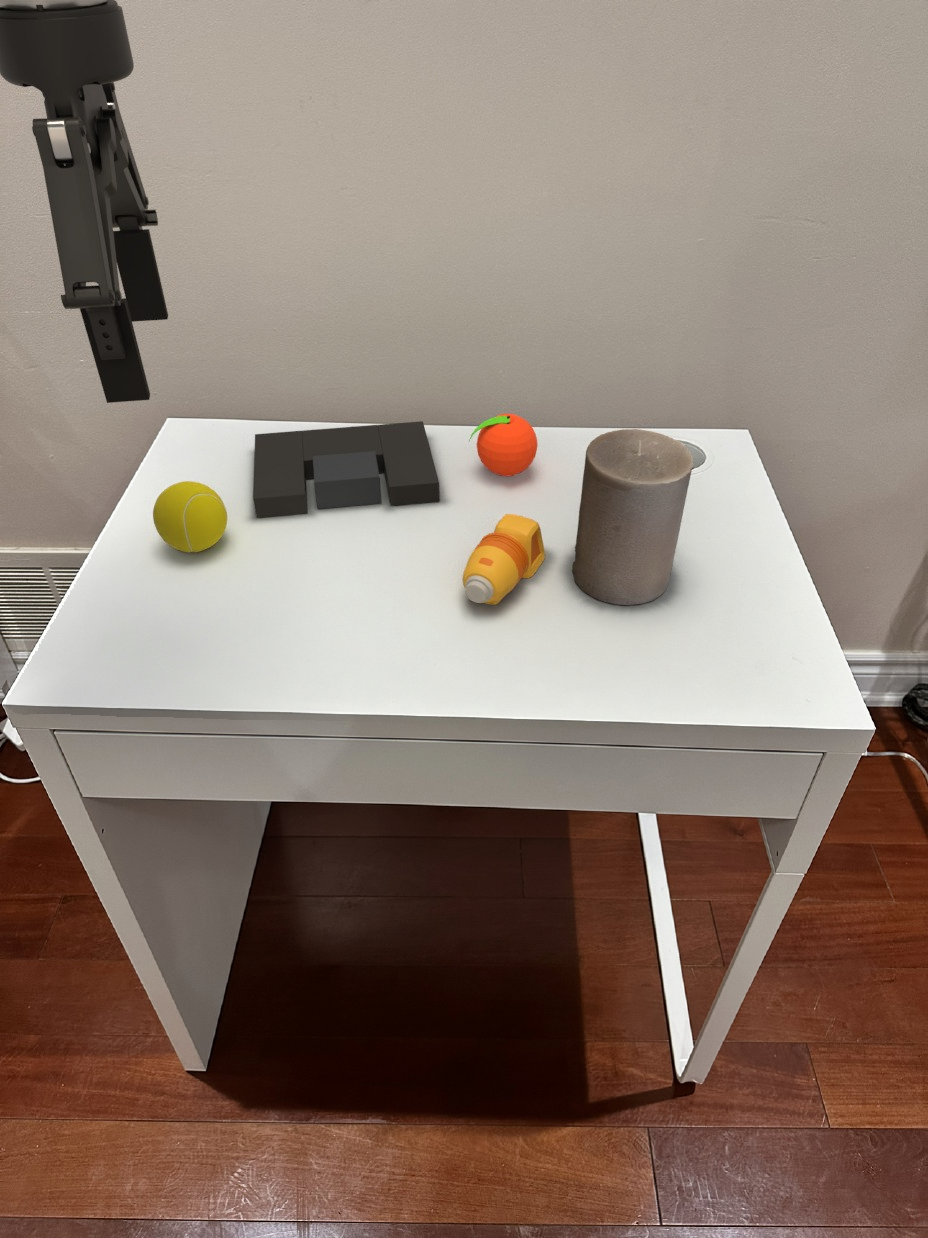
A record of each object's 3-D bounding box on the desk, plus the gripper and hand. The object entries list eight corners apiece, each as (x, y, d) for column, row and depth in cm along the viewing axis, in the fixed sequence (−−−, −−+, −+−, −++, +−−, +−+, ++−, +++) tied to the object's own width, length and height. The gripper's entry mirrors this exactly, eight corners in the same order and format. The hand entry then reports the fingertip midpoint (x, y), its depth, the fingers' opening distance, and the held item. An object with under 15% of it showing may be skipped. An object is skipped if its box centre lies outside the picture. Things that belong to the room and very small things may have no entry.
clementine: (475, 492, 99) (476, 435, 94) (461, 461, 104) (461, 406, 99) (543, 483, 100) (547, 427, 96) (525, 453, 105) (528, 398, 101)
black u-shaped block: (256, 518, 95) (252, 498, 93) (258, 452, 105) (255, 433, 104) (439, 501, 97) (439, 482, 96) (423, 439, 108) (422, 420, 106)
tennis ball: (245, 540, 92) (234, 483, 87) (193, 573, 87) (178, 515, 83) (201, 518, 95) (187, 461, 90) (148, 548, 91) (131, 491, 86)
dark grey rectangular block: (317, 509, 96) (314, 481, 94) (315, 482, 100) (312, 455, 98) (381, 503, 97) (379, 476, 95) (377, 477, 101) (375, 450, 99)
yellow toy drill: (501, 625, 82) (549, 554, 90) (502, 579, 78) (552, 510, 86) (449, 609, 84) (501, 541, 92) (448, 563, 80) (502, 496, 88)
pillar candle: (552, 568, 88) (563, 435, 78) (623, 535, 93) (642, 405, 83) (618, 620, 82) (640, 482, 72) (691, 582, 87) (721, 448, 77)
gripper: (83, 28, 41) (180, 436, 55) (143, -26, 59) (203, 289, 73) (-89, 31, 40) (54, 445, 54) (26, -25, 58) (110, 294, 72)
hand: (140, 356), depth 63 cm, fingers open, 13 cm apart
